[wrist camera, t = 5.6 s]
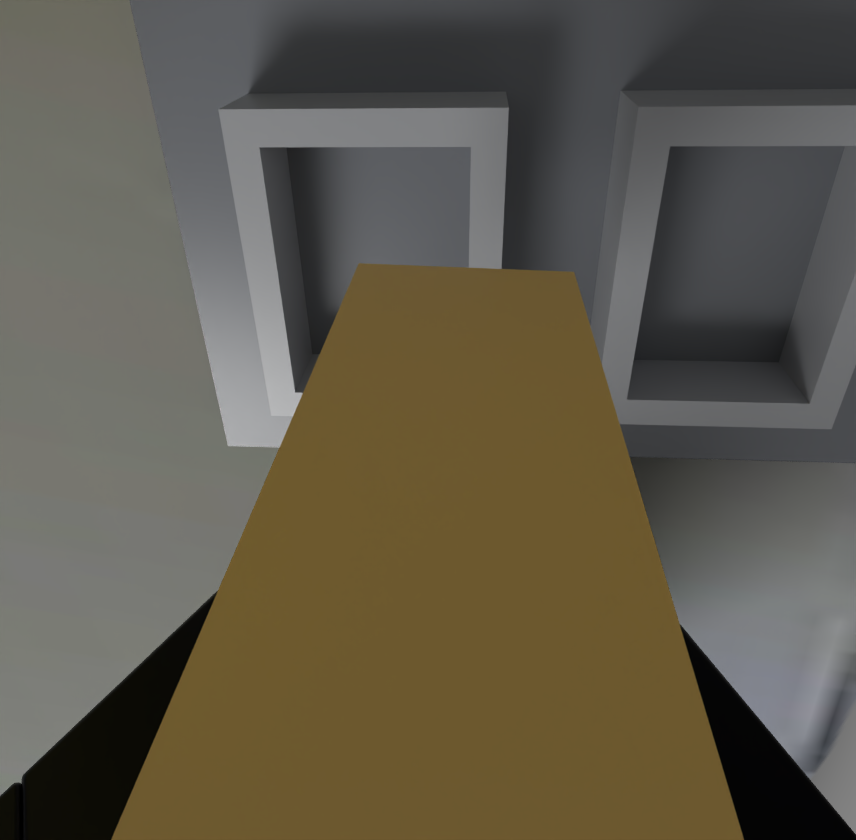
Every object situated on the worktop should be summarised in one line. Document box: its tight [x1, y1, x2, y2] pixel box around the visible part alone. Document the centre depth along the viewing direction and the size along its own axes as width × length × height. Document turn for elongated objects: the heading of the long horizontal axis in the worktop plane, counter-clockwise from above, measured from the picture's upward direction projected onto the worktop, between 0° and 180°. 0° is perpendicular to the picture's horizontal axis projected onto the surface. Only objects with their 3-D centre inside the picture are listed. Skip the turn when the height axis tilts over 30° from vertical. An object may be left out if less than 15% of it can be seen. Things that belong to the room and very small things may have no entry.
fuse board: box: [130, 0, 856, 463], centre depth 16 cm, size 12×18×4 cm, turn 91°
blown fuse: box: [111, 263, 744, 840], centre depth 7 cm, size 3×4×9 cm, turn 179°
